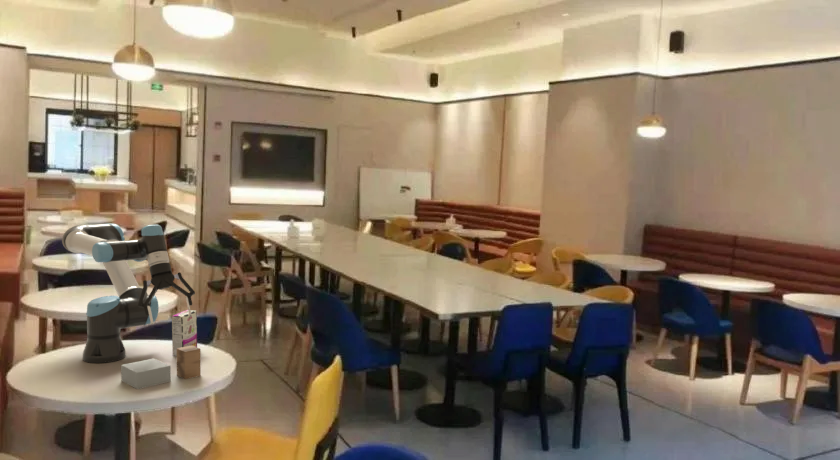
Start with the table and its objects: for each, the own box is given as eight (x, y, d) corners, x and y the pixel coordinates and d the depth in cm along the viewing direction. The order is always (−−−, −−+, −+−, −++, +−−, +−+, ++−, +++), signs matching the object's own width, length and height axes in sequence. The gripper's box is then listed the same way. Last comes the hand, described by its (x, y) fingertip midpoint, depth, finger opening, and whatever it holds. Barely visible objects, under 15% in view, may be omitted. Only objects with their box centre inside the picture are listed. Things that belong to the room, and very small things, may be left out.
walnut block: (176, 375, 250) (176, 348, 249) (192, 371, 254) (191, 345, 253) (185, 379, 246) (184, 351, 244) (200, 375, 250) (200, 348, 249)
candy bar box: (186, 348, 283) (186, 309, 282) (197, 349, 282) (197, 310, 281) (171, 356, 273) (171, 315, 271) (183, 357, 272) (182, 316, 270)
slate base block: (121, 381, 242) (121, 365, 241) (154, 374, 251) (153, 358, 250) (137, 390, 234) (137, 372, 233) (170, 382, 243) (170, 365, 242)
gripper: (123, 270, 253) (134, 326, 249) (193, 255, 261) (205, 308, 257) (126, 274, 260) (137, 329, 256) (193, 259, 268) (206, 312, 264)
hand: (171, 319), depth 257 cm, fingers open, 13 cm apart
